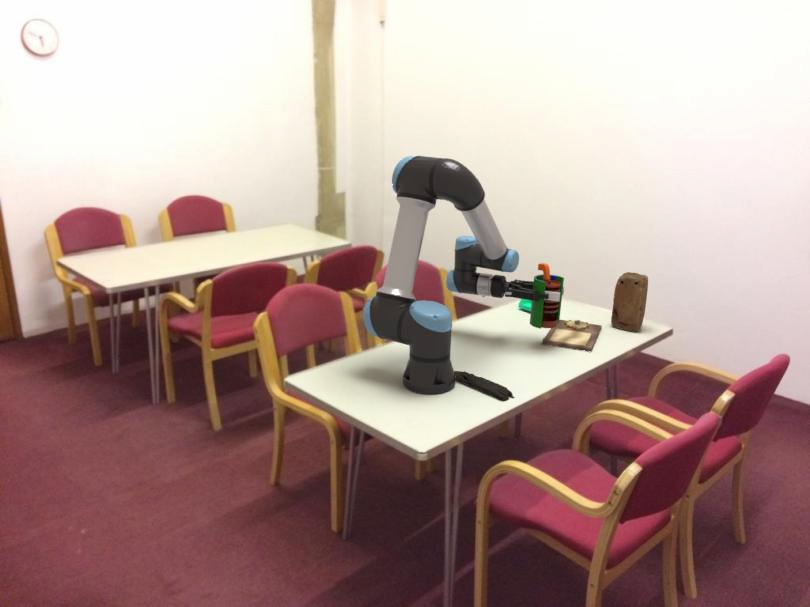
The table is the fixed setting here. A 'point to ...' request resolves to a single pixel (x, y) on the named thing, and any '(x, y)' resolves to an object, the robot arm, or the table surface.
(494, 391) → the wood
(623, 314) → the block
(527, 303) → the camera mount
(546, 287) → the motor
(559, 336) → the mounting board
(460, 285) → the robot arm
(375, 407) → the table surface
